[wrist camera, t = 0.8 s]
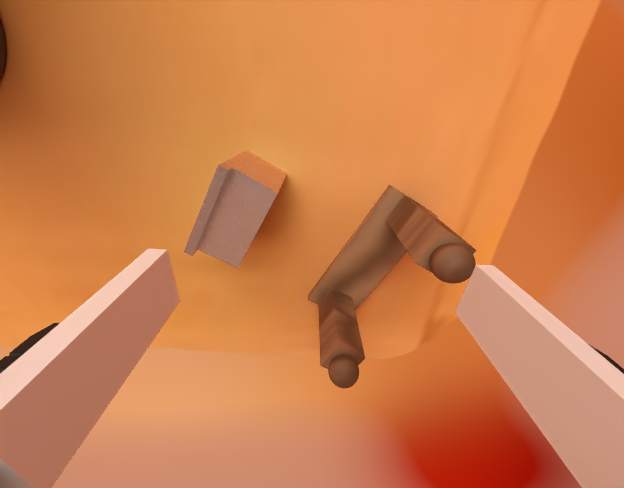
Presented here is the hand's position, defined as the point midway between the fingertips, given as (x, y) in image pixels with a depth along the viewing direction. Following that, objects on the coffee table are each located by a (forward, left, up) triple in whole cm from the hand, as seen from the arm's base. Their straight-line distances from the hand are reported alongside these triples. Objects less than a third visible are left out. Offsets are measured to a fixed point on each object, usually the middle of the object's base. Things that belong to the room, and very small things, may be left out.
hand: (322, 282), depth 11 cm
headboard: (+11, -6, -20) cm, 24 cm away
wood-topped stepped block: (-6, -6, -20) cm, 22 cm away
